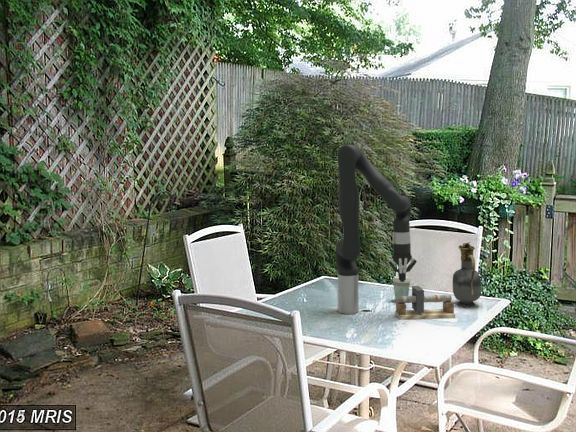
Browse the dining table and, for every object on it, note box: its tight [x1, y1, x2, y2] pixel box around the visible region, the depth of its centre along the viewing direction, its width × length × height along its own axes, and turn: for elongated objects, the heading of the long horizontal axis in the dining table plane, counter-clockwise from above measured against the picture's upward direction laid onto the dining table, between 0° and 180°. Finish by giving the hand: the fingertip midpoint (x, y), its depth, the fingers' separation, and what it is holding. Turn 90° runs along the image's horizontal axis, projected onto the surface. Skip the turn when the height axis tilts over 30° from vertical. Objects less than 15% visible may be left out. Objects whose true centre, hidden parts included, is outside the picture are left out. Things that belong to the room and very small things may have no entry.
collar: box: [411, 285, 425, 313], centre depth 268 cm, size 3×9×10 cm, turn 2°
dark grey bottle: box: [452, 241, 482, 307], centre depth 284 cm, size 11×19×30 cm, turn 0°
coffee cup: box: [392, 275, 411, 303], centre depth 295 cm, size 8×8×12 cm
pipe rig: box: [394, 294, 456, 321], centre depth 269 cm, size 24×10×9 cm, turn 92°
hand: (402, 281), depth 268 cm, fingers closed
